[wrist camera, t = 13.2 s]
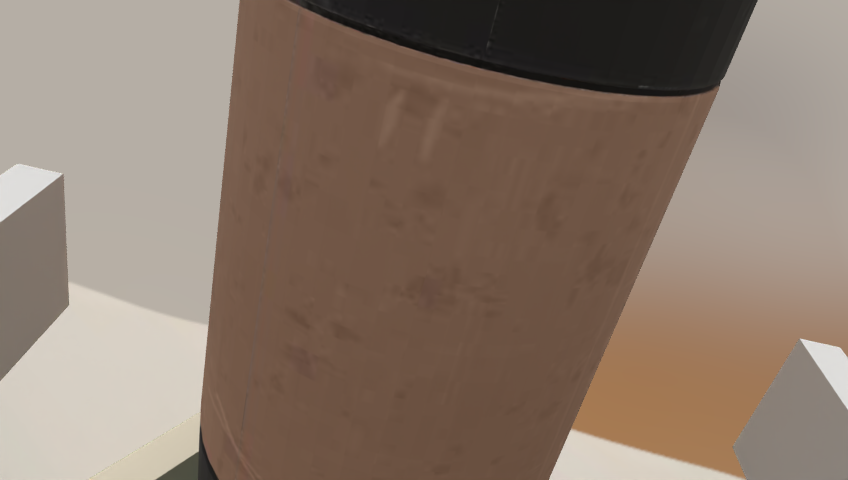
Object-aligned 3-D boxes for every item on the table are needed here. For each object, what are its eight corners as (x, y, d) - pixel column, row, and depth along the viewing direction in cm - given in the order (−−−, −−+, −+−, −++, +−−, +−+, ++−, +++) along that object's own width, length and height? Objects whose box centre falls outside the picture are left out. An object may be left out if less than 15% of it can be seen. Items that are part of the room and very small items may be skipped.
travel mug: (163, 549, 21) (205, -248, 11) (395, 497, 24) (585, -142, 14) (206, 856, 15) (379, -242, 5) (503, 728, 18) (938, -68, 9)
